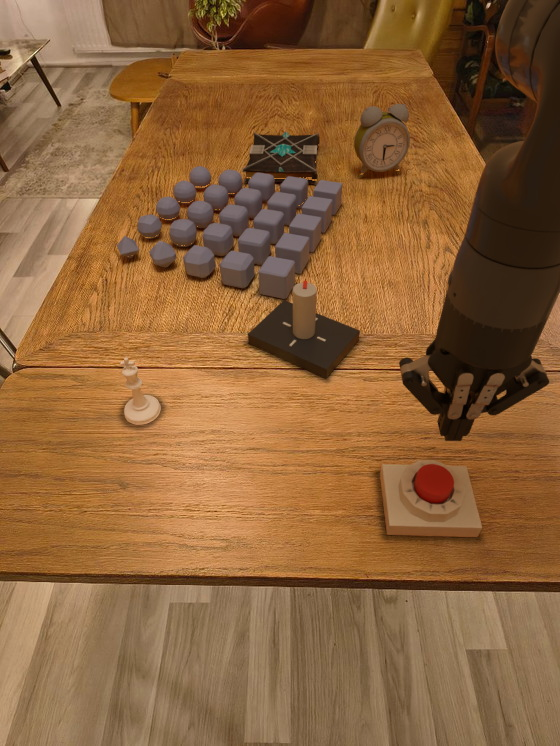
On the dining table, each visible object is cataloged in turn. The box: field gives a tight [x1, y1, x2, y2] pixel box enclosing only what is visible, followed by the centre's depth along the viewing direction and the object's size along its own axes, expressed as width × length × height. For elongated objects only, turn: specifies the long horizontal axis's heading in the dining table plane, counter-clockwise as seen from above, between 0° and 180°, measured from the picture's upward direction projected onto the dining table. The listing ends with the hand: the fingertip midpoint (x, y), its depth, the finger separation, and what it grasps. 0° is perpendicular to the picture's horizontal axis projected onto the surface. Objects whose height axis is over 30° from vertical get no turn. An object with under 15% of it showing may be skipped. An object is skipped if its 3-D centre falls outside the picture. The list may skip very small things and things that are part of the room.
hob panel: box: [247, 299, 361, 380], centre depth 79 cm, size 14×10×2 cm
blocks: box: [116, 165, 343, 300], centre depth 101 cm, size 35×34×5 cm
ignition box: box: [379, 459, 483, 538], centre depth 59 cm, size 10×8×4 cm
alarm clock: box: [353, 103, 411, 179], centre depth 115 cm, size 12×7×15 cm, turn 102°
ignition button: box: [414, 464, 454, 504], centre depth 57 cm, size 4×4×2 cm
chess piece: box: [119, 357, 162, 426], centre depth 67 cm, size 5×5×10 cm
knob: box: [292, 280, 318, 339], centre depth 75 cm, size 3×3×8 cm
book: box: [241, 131, 321, 186], centre depth 122 cm, size 22×17×5 cm
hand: (451, 433), depth 51 cm, fingers closed
